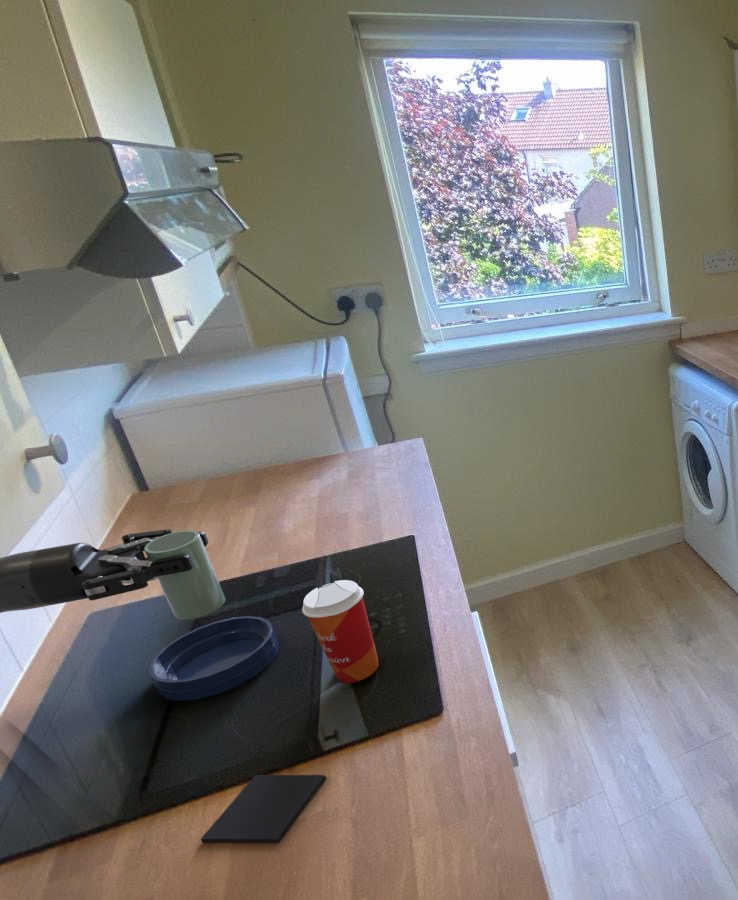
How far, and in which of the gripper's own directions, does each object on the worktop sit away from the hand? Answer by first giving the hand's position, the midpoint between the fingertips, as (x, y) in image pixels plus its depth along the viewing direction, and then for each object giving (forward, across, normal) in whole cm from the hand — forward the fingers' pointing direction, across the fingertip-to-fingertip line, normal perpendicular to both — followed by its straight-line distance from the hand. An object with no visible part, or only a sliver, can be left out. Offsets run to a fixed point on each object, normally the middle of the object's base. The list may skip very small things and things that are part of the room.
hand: (198, 549), depth 102 cm
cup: (-2, 0, +9) cm, 9 cm away
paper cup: (+16, -7, +21) cm, 27 cm away
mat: (+9, -30, +21) cm, 38 cm away
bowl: (-4, +2, +21) cm, 22 cm away
